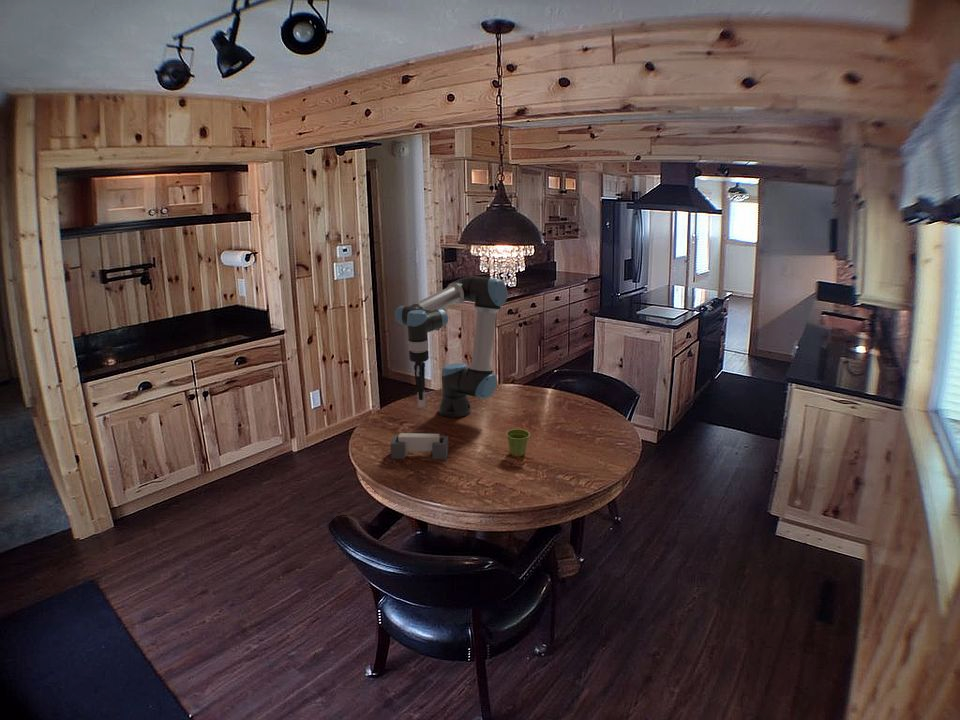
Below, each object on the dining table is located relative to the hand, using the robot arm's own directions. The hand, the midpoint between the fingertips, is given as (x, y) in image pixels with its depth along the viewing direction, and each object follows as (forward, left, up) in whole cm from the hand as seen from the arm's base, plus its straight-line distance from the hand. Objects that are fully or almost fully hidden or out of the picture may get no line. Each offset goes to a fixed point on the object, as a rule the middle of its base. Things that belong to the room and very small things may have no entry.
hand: (421, 405), depth 238 cm
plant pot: (-31, +24, -19) cm, 43 cm away
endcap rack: (+3, +4, -19) cm, 20 cm away
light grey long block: (+4, +4, -16) cm, 17 cm away
